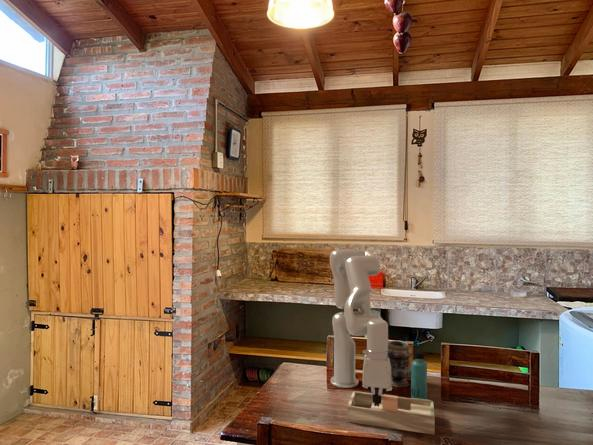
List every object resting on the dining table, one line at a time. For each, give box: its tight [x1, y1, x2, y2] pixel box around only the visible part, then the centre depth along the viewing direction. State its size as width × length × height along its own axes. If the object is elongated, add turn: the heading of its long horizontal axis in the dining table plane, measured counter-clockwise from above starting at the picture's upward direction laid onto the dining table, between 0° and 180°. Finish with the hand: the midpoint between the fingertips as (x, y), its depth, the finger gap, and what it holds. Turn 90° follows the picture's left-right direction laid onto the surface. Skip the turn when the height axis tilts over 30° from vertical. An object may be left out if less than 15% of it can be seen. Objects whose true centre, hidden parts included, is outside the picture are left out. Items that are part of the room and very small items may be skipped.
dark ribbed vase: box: [388, 340, 413, 388], centre depth 183 cm, size 12×12×18 cm
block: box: [382, 393, 399, 412], centre depth 146 cm, size 5×5×5 cm
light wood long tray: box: [346, 390, 436, 436], centre depth 150 cm, size 14×30×6 cm, turn 74°
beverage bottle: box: [410, 350, 428, 400], centre depth 164 cm, size 6×7×20 cm
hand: (377, 404), depth 148 cm, fingers closed
